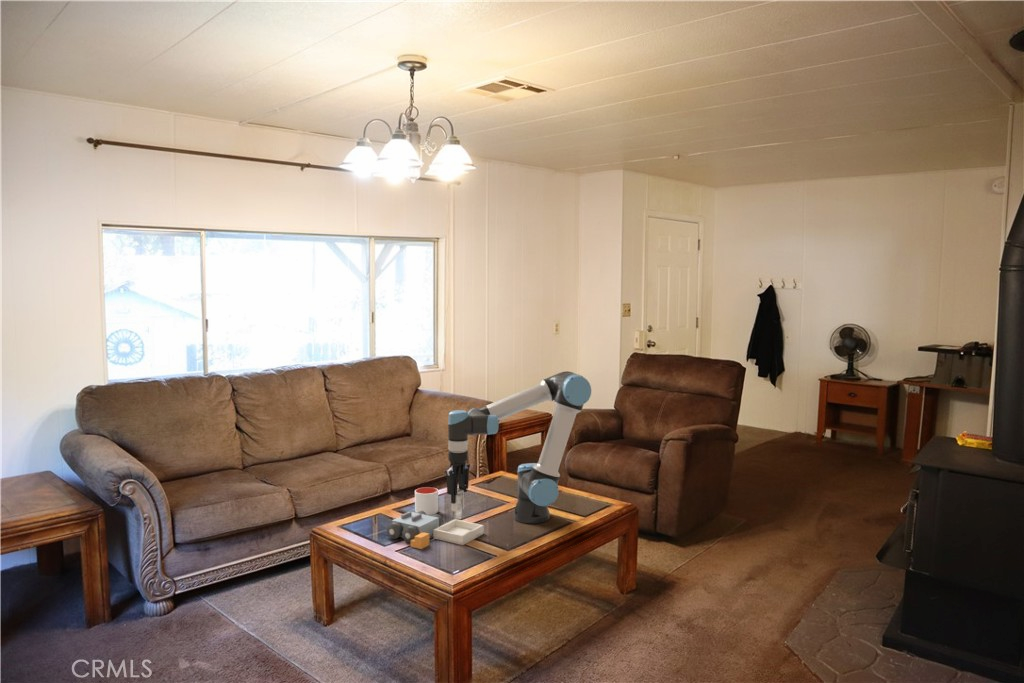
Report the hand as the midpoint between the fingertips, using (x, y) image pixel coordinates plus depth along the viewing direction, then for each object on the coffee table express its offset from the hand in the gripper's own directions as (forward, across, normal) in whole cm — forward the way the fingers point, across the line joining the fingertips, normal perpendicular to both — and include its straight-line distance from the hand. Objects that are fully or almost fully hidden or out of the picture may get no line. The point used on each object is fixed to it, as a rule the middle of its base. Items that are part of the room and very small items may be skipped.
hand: (457, 509), depth 265 cm
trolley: (+11, +7, -16) cm, 20 cm away
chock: (+11, +16, -6) cm, 20 cm away
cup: (+11, -15, -28) cm, 33 cm away
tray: (+11, 0, 0) cm, 11 cm away
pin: (+3, 0, 0) cm, 3 cm away
